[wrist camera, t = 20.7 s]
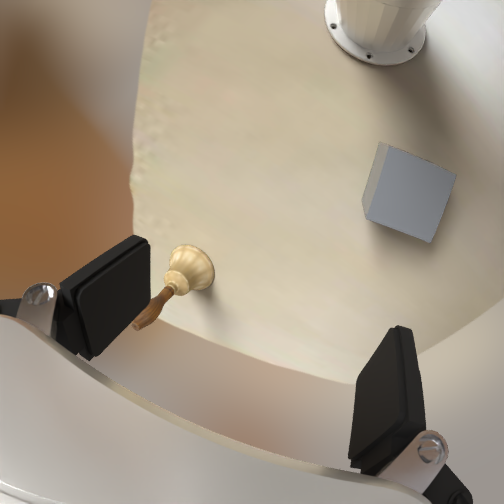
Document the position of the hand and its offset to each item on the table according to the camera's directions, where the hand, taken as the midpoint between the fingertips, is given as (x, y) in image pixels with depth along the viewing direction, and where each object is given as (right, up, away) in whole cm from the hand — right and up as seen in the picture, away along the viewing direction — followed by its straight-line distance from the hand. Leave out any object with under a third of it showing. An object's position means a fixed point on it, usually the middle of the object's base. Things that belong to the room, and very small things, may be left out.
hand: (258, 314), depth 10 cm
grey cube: (+18, +11, +21) cm, 30 cm away
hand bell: (-10, 0, +37) cm, 38 cm away
